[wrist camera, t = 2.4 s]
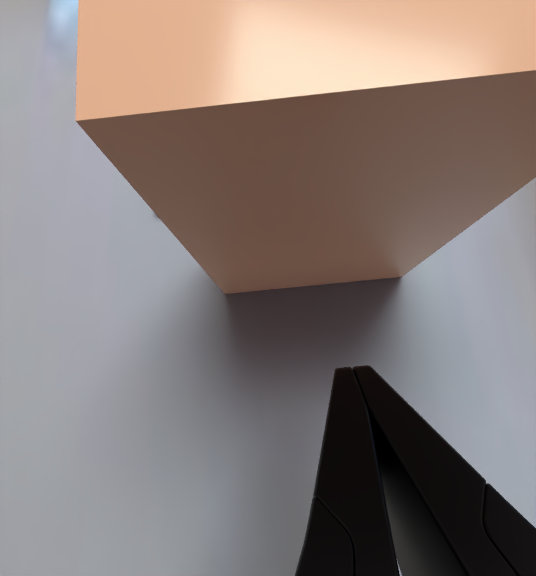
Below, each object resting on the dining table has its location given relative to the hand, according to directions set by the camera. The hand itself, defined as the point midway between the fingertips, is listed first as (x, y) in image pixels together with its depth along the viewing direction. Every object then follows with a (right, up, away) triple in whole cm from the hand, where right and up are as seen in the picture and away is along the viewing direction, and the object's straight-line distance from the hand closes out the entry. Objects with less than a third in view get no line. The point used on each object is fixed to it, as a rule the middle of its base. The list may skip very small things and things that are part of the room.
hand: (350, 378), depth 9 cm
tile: (0, +4, +8) cm, 8 cm away
